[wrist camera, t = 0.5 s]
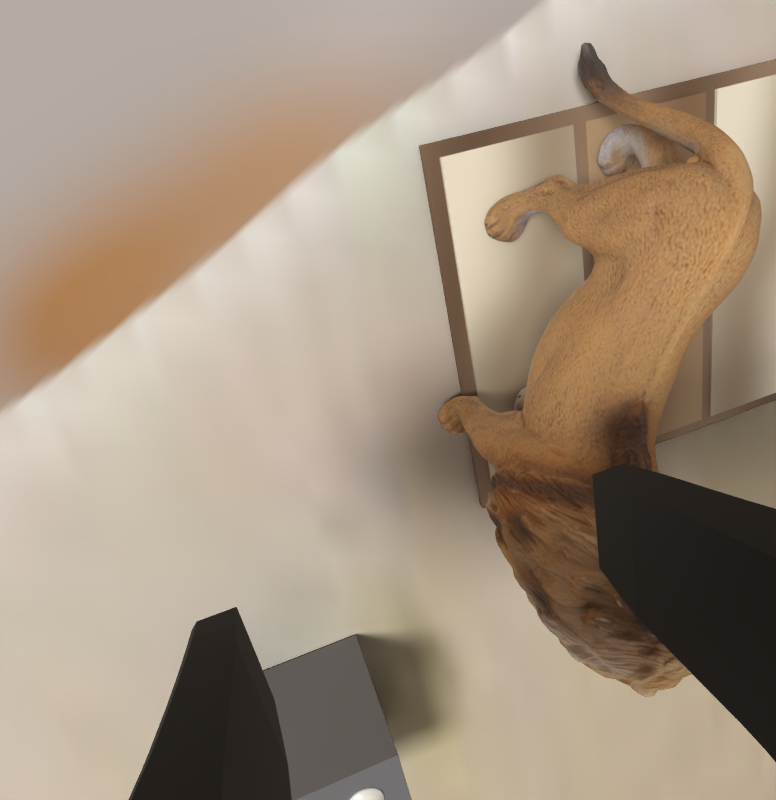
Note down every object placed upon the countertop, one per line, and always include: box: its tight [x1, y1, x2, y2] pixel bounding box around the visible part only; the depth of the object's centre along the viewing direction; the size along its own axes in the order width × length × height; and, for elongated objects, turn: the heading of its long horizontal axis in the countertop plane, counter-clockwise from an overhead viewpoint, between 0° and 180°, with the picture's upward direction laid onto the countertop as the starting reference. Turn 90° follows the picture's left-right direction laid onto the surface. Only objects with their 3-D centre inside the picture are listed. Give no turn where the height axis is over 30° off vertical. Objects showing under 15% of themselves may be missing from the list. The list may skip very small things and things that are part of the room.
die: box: [263, 635, 412, 800], centre depth 20 cm, size 5×5×5 cm
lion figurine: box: [438, 43, 762, 697], centre depth 15 cm, size 15×5×9 cm, turn 174°
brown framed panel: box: [419, 59, 776, 508], centre depth 20 cm, size 14×12×1 cm
